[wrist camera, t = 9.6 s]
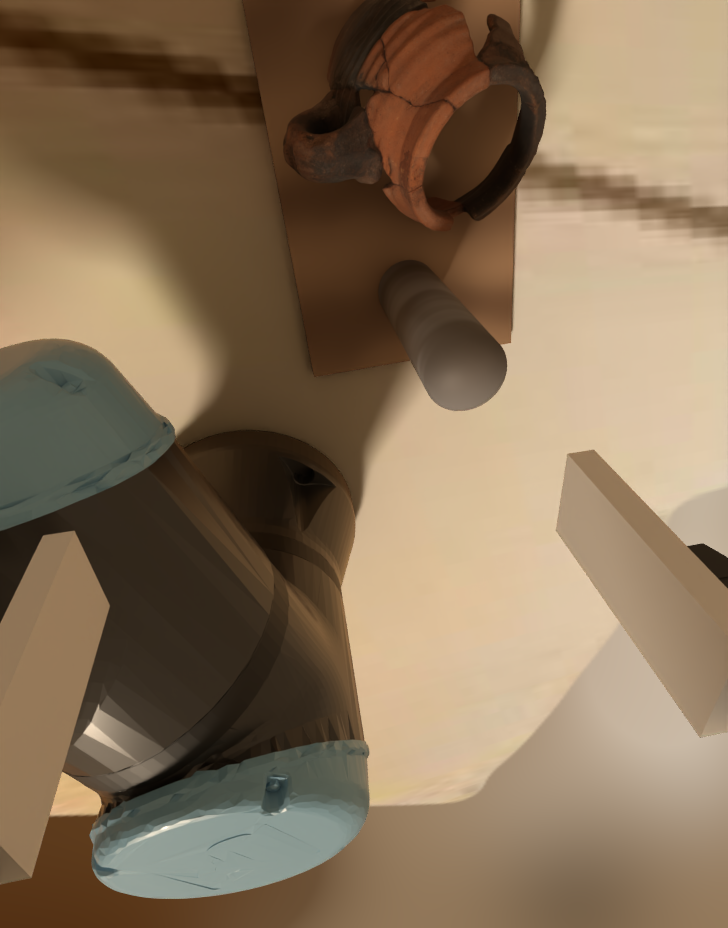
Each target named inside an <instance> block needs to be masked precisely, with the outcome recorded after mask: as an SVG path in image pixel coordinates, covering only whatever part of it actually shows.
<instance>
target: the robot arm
mask: <svg viewBox="0 0 728 928" xmlns="http://www.w3.org/2000/svg"><path fill="white" fill-rule="evenodd" d="M175 438H176V436H175V429H174V427H173V425H172V424H171V423H170V421H169V420H168V419H167V418H166V417H163V416H161V415H159V414H158V413H155V411H154V410H153V409H152V408H151V407H150V406H149V405H148V403H147V402H146V401H145V400H144V399H143V398H142V397H141V395H140V394H139V393H138V392H137V391H136V390H135V389H134V387H133V386H132V385H131V384H130V383H129V382H128V381H127V379H126V378H125V377H124V376H123V375H122V374H121V373H120V371H119V370H118V369H117V368H116V367H115V366H114V365H113V363H112V362H111V361H110V360H108V359H107V358H106V357H105V356H104V355H103V354H101V353H100V352H98V351H97V350H95V349H94V348H92V347H89V346H87V345H85V344H82V343H79V342H75V341H71V340H65V339H40V340H33V341H27V342H23V343H19V344H15V345H11V346H8V347H4V348H1V349H0V884H3V883H9V882H13V881H18V880H22V879H28V878H31V877H32V873H33V870H34V867H35V863H36V859H37V856H38V853H39V849H40V846H41V842H42V839H43V836H44V831H45V828H46V825H47V821H48V818H49V815H50V811H51V808H52V804H53V801H54V797H55V794H56V791H57V787H58V784H59V780H60V777H61V773H62V772H64V773H66V774H68V775H69V776H71V777H72V778H74V779H76V780H77V781H79V782H81V783H82V784H83V785H85V786H86V787H88V788H90V789H92V790H93V791H95V792H96V793H98V794H99V796H100V798H101V803H102V806H101V808H100V811H99V814H98V816H97V819H96V822H95V823H94V824H93V825H92V826H93V828H92V830H91V833H90V838H91V840H92V842H93V844H94V846H93V853H92V868H93V870H94V873H95V875H96V877H97V878H98V879H99V880H100V881H101V882H102V883H103V884H105V885H106V886H108V887H109V888H111V889H113V890H116V891H118V892H122V893H126V894H129V895H134V896H139V897H147V898H161V899H182V898H198V897H207V896H214V895H222V894H228V893H233V892H239V891H244V890H248V889H252V888H256V887H260V886H264V885H267V884H271V883H274V882H278V881H281V880H284V879H286V878H289V877H292V876H295V875H297V874H300V873H302V872H304V871H307V870H309V869H311V868H313V867H315V866H317V865H320V864H321V863H323V862H325V861H326V860H328V859H330V858H331V857H333V856H334V855H336V854H337V853H338V852H340V851H341V850H342V849H343V848H344V847H345V846H346V845H347V844H348V843H349V842H351V840H353V839H354V838H355V837H356V836H357V834H358V833H359V831H360V829H361V828H362V826H363V824H364V822H365V820H366V817H367V814H368V809H369V798H370V797H369V785H368V768H367V758H368V756H369V747H368V745H367V744H366V742H365V741H364V735H363V728H362V722H361V715H360V709H359V702H358V696H357V689H356V683H355V676H354V670H353V663H352V657H351V650H350V644H349V637H348V631H347V624H346V618H345V611H344V605H343V599H342V592H341V585H342V582H343V578H344V575H345V571H346V568H347V564H348V561H349V557H350V554H351V550H352V547H353V543H354V537H355V515H354V509H353V504H352V499H351V495H350V492H349V488H348V486H347V484H346V481H345V480H344V478H343V476H342V475H341V473H340V472H339V470H338V469H337V468H336V466H335V465H334V464H333V463H332V462H331V461H330V460H329V459H328V458H327V457H326V456H324V455H323V454H322V453H320V452H319V451H318V450H316V449H315V448H313V447H311V446H309V445H308V444H306V443H304V442H302V441H299V440H297V439H294V438H292V437H288V436H285V435H281V434H277V433H272V432H265V431H233V432H226V433H222V434H217V435H214V436H210V437H207V438H204V439H202V440H200V441H197V442H195V443H193V444H191V445H189V446H187V447H186V448H184V449H183V448H182V447H181V446H180V444H179V443H178V442H177V440H176V439H175ZM556 531H557V533H558V534H559V536H560V537H561V539H562V540H563V541H564V543H565V544H566V546H567V547H568V549H569V550H570V552H571V553H572V554H573V556H574V557H575V559H576V560H577V562H578V563H579V564H580V566H581V567H582V569H583V570H584V572H585V573H586V575H587V576H588V577H589V579H590V580H591V582H592V583H593V585H594V586H595V587H596V589H597V590H598V592H599V593H600V595H601V596H602V598H603V599H604V600H605V602H606V603H607V605H608V606H609V608H610V609H611V610H612V612H613V613H614V615H615V616H616V618H617V619H618V621H619V622H620V623H621V625H622V626H623V628H624V629H625V631H626V632H627V633H628V635H629V636H630V638H631V639H632V641H633V642H634V644H635V645H636V646H637V648H638V649H639V651H640V652H641V654H642V655H643V657H644V658H645V659H646V661H647V662H648V664H649V665H650V667H651V668H652V669H653V671H654V672H655V673H656V675H657V677H658V678H659V679H660V681H661V682H662V684H663V685H664V687H665V688H666V690H667V691H668V692H669V694H670V695H671V697H672V698H673V700H674V701H675V703H676V704H677V705H678V707H679V708H680V710H681V711H682V713H683V714H684V716H685V717H686V718H687V720H688V721H689V723H690V724H691V726H692V727H693V728H694V730H695V731H696V733H697V734H698V736H699V737H700V738H701V737H706V736H711V735H716V734H720V733H724V732H728V558H727V557H726V556H724V555H722V554H721V553H719V552H717V551H715V550H714V549H712V548H710V547H708V546H707V545H705V544H697V545H692V546H686V545H685V544H684V543H683V542H682V541H681V540H680V539H679V538H678V537H677V536H676V534H675V533H674V532H673V531H672V530H671V529H670V528H669V527H668V526H667V525H666V524H665V523H664V522H663V521H662V520H661V519H660V518H659V517H658V516H657V515H656V514H655V513H654V512H653V511H652V510H651V509H650V508H649V506H648V505H647V504H646V503H645V502H644V501H643V500H642V499H641V498H640V497H639V496H638V495H637V494H636V493H635V492H634V491H633V490H632V489H631V488H630V487H629V486H628V485H627V484H626V483H625V482H624V481H623V479H622V478H621V477H620V476H619V475H618V474H617V473H616V472H615V471H614V470H613V469H612V468H611V467H610V466H609V465H608V464H607V463H606V462H605V461H604V460H603V459H602V458H601V457H600V456H599V455H598V454H597V453H596V451H595V450H589V451H583V452H577V453H570V454H567V461H566V467H565V474H564V480H563V487H562V494H561V500H560V507H559V513H558V520H557V527H556Z"/></svg>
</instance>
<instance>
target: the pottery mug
mask: <svg viewBox="0 0 728 928" xmlns="http://www.w3.org/2000/svg"><path fill="white" fill-rule="evenodd" d="M435 1H436V0H365V1H364V2H363V3H362V4H361V5H360V6H359V7H358V8H357V9H356V10H355V11H354V12H353V13H352V14H351V16H350V17H349V19H348V20H347V22H346V23H345V25H344V26H343V28H342V29H341V31H340V33H339V35H338V37H337V39H336V41H335V44H334V46H333V51H332V55H331V58H330V62H329V67H328V73H327V80H328V82H329V86H330V92H328V93H327V94H326V96H325V97H324V98H323V99H322V100H321V101H320V102H319V103H318V104H316V105H315V106H314V107H312V108H311V109H308V110H305V111H303V112H301V113H300V114H298V115H296V116H295V117H293V118H292V119H291V121H290V122H289V123H288V126H287V131H286V134H285V136H284V140H283V153H284V158H285V161H286V163H287V164H288V165H289V166H290V167H291V168H292V169H294V170H295V171H296V172H297V173H298V174H299V175H300V176H301V177H303V178H304V179H306V180H308V181H312V182H315V183H337V182H342V181H344V180H348V179H356V180H357V181H358V182H360V183H366V184H374V183H376V182H377V181H379V179H380V177H381V175H382V168H383V169H384V170H385V171H386V174H387V175H388V176H390V178H391V180H392V182H390V183H388V184H386V185H385V186H384V187H383V191H384V193H385V195H386V196H387V197H388V198H389V200H390V201H391V202H392V203H393V204H394V205H395V206H396V207H397V209H398V210H399V211H400V212H402V213H403V214H405V215H406V216H408V217H410V218H411V219H413V220H414V221H416V222H420V223H422V224H423V225H424V226H425V227H428V228H430V229H431V230H436V231H449V230H451V227H452V225H453V223H454V219H453V218H454V217H456V216H458V215H460V214H462V213H464V212H467V213H468V214H469V215H470V216H471V218H472V219H474V220H475V221H480V220H482V219H484V218H485V217H486V216H487V215H489V214H491V213H492V212H493V211H494V210H495V209H496V208H497V207H498V206H499V205H500V204H502V203H503V202H504V201H505V200H506V199H507V197H508V196H509V195H510V194H511V193H512V192H513V190H514V189H515V188H516V187H517V185H518V184H519V182H520V181H521V179H522V177H523V176H524V174H525V172H526V169H527V168H528V167H529V165H530V163H531V162H532V160H533V158H534V156H535V154H536V152H537V148H538V144H539V142H540V140H541V137H542V134H543V129H544V124H545V119H546V100H545V98H544V92H543V90H542V87H541V85H540V83H539V80H538V77H537V76H535V74H534V72H533V70H532V69H531V68H530V67H529V65H528V63H527V61H526V60H525V58H524V55H523V50H522V47H521V45H520V44H519V42H518V41H517V40H516V38H515V36H514V34H513V31H512V28H511V26H510V24H509V23H508V22H507V21H505V20H504V19H503V18H501V17H499V16H497V15H495V14H489V15H488V16H487V26H488V29H489V31H490V32H489V33H488V35H487V39H486V42H485V44H484V46H483V48H482V49H481V50H480V52H479V53H478V55H477V56H476V55H475V53H474V46H473V41H472V39H471V37H470V32H469V29H468V26H467V23H466V20H465V17H464V14H463V13H462V12H461V11H457V10H456V9H454V8H453V7H451V6H448V5H446V4H444V5H440V6H436V7H434V8H430V9H428V5H427V3H425V2H435ZM500 84H507V85H511V86H513V87H514V88H516V89H517V90H518V92H519V94H520V96H521V110H520V113H519V116H518V120H517V123H516V126H515V130H514V133H513V137H512V140H511V143H510V144H508V145H507V146H506V148H505V150H504V151H503V153H502V154H501V156H500V158H499V160H498V161H497V163H496V165H495V166H494V168H493V169H492V171H491V172H490V173H489V175H488V176H487V177H486V178H485V179H484V180H483V181H482V182H481V183H480V184H479V185H477V186H476V187H475V188H473V189H472V190H471V191H469V192H467V193H466V194H464V195H463V196H461V197H459V198H458V199H456V200H455V201H448V200H445V199H441V198H438V197H430V198H428V199H426V196H425V192H424V187H423V184H422V183H423V179H424V172H425V167H426V164H427V160H428V157H429V155H430V152H431V150H432V147H433V145H434V143H435V141H436V139H437V137H438V135H439V134H440V132H441V130H442V128H443V127H444V126H445V124H446V123H447V122H448V120H449V119H450V118H451V116H452V115H453V113H454V112H455V110H457V109H458V108H460V107H461V106H462V105H463V104H464V103H465V102H466V101H467V100H469V99H470V98H471V97H473V96H474V95H476V94H477V93H479V92H481V91H483V90H485V89H486V88H488V87H489V86H490V85H500ZM361 89H363V90H365V89H367V90H373V91H374V93H373V95H372V96H371V97H370V98H369V99H368V101H367V103H366V106H365V108H363V107H361V102H360V95H359V91H360V90H361Z"/></svg>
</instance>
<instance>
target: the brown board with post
mask: <svg viewBox="0 0 728 928" xmlns="http://www.w3.org/2000/svg"><path fill="white" fill-rule="evenodd" d="M242 1H243V6H244V11H245V16H246V22H247V27H248V32H249V37H250V43H251V48H252V53H253V59H254V64H255V69H256V74H257V80H258V85H259V90H260V95H261V101H262V106H263V111H264V116H265V122H266V127H267V132H268V137H269V143H270V148H271V153H272V159H273V164H274V169H275V174H276V180H277V185H278V190H279V195H280V201H281V206H282V211H283V216H284V222H285V227H286V232H287V238H288V243H289V248H290V253H291V259H292V264H293V269H294V274H295V280H296V285H297V290H298V295H299V301H300V306H301V311H302V316H303V322H304V327H305V332H306V338H307V343H308V348H309V353H310V359H311V364H312V369H313V374H314V377H317V376H323V375H329V374H335V373H340V372H346V371H352V370H358V369H363V368H369V367H375V366H381V365H386V364H392V363H398V362H404V361H409V360H411V362H412V364H413V366H414V368H415V370H416V372H417V374H418V376H419V377H420V379H421V381H422V383H423V385H424V387H425V389H426V391H427V393H428V394H429V396H430V397H431V399H432V400H433V401H434V402H435V403H436V404H438V405H439V406H441V407H443V408H445V409H448V410H453V411H465V410H470V409H473V408H476V407H478V406H481V405H482V404H484V403H486V402H487V401H488V400H490V399H491V398H492V397H493V396H494V395H495V394H496V393H497V391H498V390H499V389H500V387H501V385H502V383H503V381H504V379H505V376H506V372H507V359H506V355H505V352H504V350H503V348H502V347H501V344H507V343H511V319H512V283H513V247H514V210H515V189H514V190H513V192H512V193H511V194H510V195H509V196H508V197H507V199H506V200H505V201H504V202H503V203H502V204H500V205H499V206H498V207H497V208H496V209H495V210H494V211H493V212H492V213H491V214H489V215H487V216H486V217H485V218H484V219H482V220H480V221H475V220H474V219H472V218H471V216H470V215H469V214H468V213H467V212H464V213H462V214H460V215H458V216H456V217H454V218H453V219H454V223H453V225H452V227H451V230H449V231H436V230H431V229H430V228H428V227H425V226H424V225H423V224H422V223H420V222H416V221H414V220H413V219H411V218H410V217H408V216H406V215H405V214H403V213H402V212H400V211H399V210H398V209H397V207H396V206H395V205H394V204H393V203H392V202H391V201H390V200H389V198H388V197H387V196H386V195H385V193H384V191H383V187H384V186H385V185H386V184H388V183H390V182H392V180H391V178H390V176H388V175H387V174H386V171H385V170H384V169H383V168H382V175H381V177H380V179H379V181H377V182H376V183H374V184H366V183H360V182H358V181H357V180H356V179H348V180H344V181H342V182H337V183H315V182H312V181H308V180H306V179H304V178H303V177H301V176H300V175H299V174H298V173H297V172H296V171H295V170H294V169H292V168H291V167H290V166H289V165H288V164H287V163H286V161H285V158H284V153H283V140H284V136H285V134H286V131H287V126H288V123H289V122H290V121H291V119H292V118H293V117H295V116H296V115H298V114H300V113H301V112H303V111H305V110H308V109H311V108H312V107H314V106H315V105H316V104H318V103H319V102H320V101H321V100H322V99H323V98H324V97H325V96H326V94H327V93H328V92H330V86H329V82H328V80H327V73H328V67H329V62H330V58H331V55H332V51H333V46H334V44H335V41H336V39H337V37H338V35H339V33H340V31H341V29H342V28H343V26H344V25H345V23H346V22H347V20H348V19H349V17H350V16H351V14H352V13H353V12H354V11H355V10H356V9H357V8H358V7H359V6H360V5H361V4H362V3H363V2H364V1H365V0H242ZM425 3H427V5H428V9H430V8H434V7H436V6H440V5H444V4H446V5H448V6H451V7H453V8H454V9H456V10H457V11H461V12H462V13H463V14H464V17H465V20H466V23H467V26H468V29H469V32H470V37H471V39H472V41H473V46H474V53H475V55H476V56H477V55H478V53H479V52H480V50H481V49H482V48H483V46H484V44H485V42H486V39H487V35H488V33H489V32H490V31H489V29H488V26H487V16H488V15H489V14H495V15H497V16H499V17H501V18H503V19H504V20H505V21H507V22H508V23H509V24H510V26H511V28H512V31H513V34H514V36H515V38H516V40H517V41H518V42H519V28H520V0H436V1H435V2H425ZM373 93H374V91H373V90H367V89H365V90H363V89H361V90H360V91H359V95H360V102H361V107H363V108H365V106H366V103H367V101H368V99H369V98H370V97H371V96H372V95H373ZM517 101H518V90H517V89H516V88H514V87H513V86H511V85H507V84H500V85H490V86H489V87H488V88H486V89H485V90H483V91H481V92H479V93H477V94H476V95H474V96H473V97H471V98H470V99H469V100H467V101H466V102H465V103H464V104H463V105H462V106H461V107H460V108H458V109H457V110H455V112H454V113H453V115H452V116H451V118H450V119H449V120H448V122H447V123H446V124H445V126H444V127H443V128H442V130H441V132H440V134H439V135H438V137H437V139H436V141H435V143H434V145H433V147H432V150H431V152H430V155H429V157H428V160H427V164H426V167H425V172H424V179H423V183H422V184H423V187H424V192H425V196H426V199H428V198H430V197H438V198H441V199H445V200H448V201H455V200H456V199H458V198H459V197H461V196H463V195H464V194H466V193H467V192H469V191H471V190H472V189H473V188H475V187H476V186H477V185H479V184H480V183H481V182H482V181H483V180H484V179H485V178H486V177H487V176H488V175H489V173H490V172H491V171H492V169H493V168H494V166H495V165H496V163H497V161H498V160H499V158H500V156H501V154H502V153H503V151H504V150H505V148H506V146H507V145H508V144H510V143H511V140H512V137H513V133H514V130H515V126H516V123H517Z"/></svg>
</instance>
